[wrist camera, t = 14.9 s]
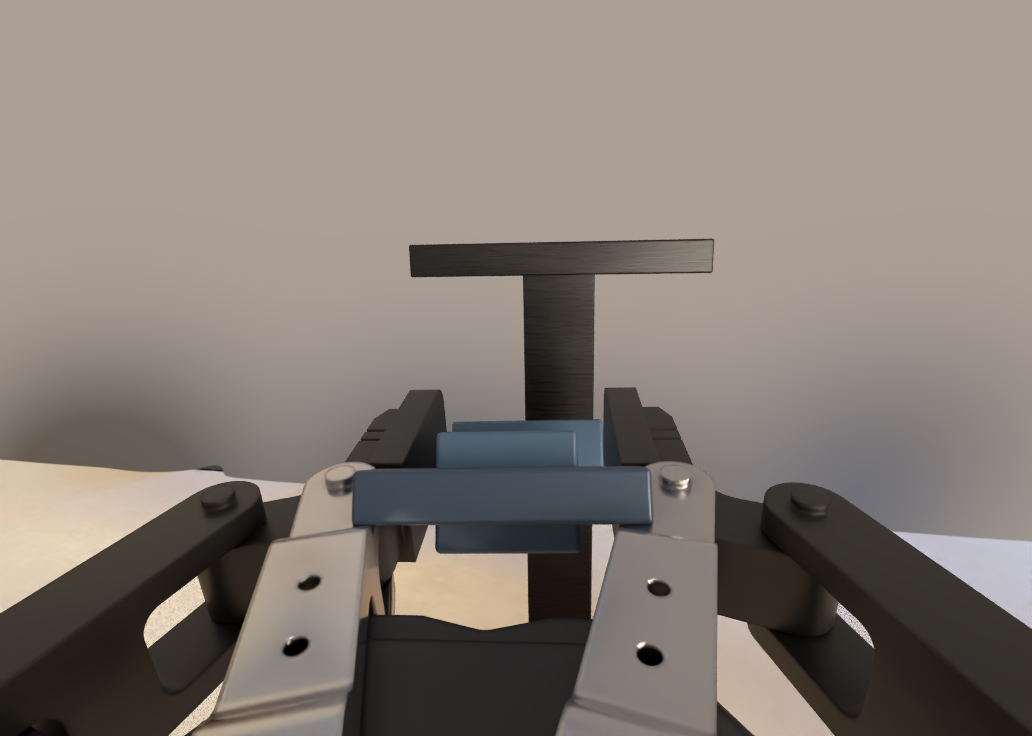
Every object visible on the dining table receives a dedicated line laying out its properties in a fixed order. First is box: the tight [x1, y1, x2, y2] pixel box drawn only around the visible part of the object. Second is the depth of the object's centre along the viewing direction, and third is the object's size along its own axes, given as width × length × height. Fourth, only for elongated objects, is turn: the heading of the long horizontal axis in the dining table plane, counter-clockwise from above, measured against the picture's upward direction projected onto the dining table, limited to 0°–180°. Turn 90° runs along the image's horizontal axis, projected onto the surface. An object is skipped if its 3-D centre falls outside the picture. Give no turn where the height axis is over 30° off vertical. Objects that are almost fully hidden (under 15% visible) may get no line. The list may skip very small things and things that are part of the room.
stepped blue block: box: [352, 419, 654, 554], centre depth 17 cm, size 18×4×3 cm, turn 174°
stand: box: [409, 239, 714, 622], centre depth 32 cm, size 8×14×31 cm, turn 84°
